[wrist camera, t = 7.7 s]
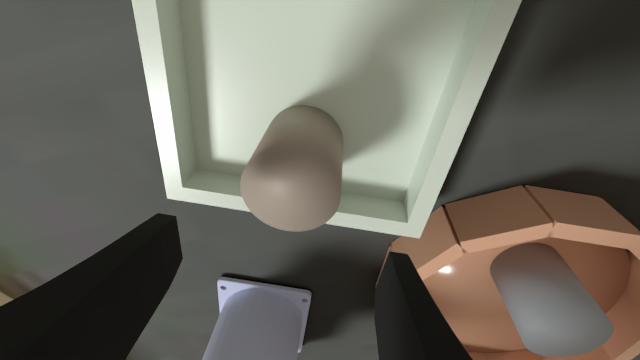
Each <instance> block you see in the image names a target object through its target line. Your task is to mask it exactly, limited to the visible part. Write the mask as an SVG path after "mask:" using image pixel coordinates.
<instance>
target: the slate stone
mask: <svg viewBox="0 0 640 360" xmlns="http://www.w3.org/2000/svg"><path fill="white" fill-rule="evenodd" d="M490 274H491V276H492V278H493V280H494V282H495V284H496V287H497V289H498V291H499V293H500V295H501V297H502V299H503V301H504V303H505V306H506V308H507V310H508V312H509V314H510V316H511V318H512V320H513V322H514V325H515V327H516V329H517V331H518V333H519V335H520V337H521V339H522V341H523V344H524V346H525V347H526V348H527V349H528V350H529V351H531V352H533V353H535V354H538V355H542V356H548V357H567V356H574V355H578V354H582V353H586V352H589V351H591V350H594V349H596V348H598V347H599V346H601V345H603V344H604V343H605V342H607V341H608V340H609V338H610V337H611V336H612V334H613V331H614V327H613V324H612V322H611V321H610V320H609V318H608V317H607V316H606V314H605V313H604V312H603V310H602V309H601V308H600V306H599V305H598V304H597V303H596V301H595V300H594V299H593V297H592V296H591V295H590V293H589V292H588V291H587V289H586V288H585V287H584V285H583V284H582V283H581V282H580V280H579V279H578V278H577V276H576V275H575V274H574V272H573V271H572V270H571V268H570V267H569V266H568V264H567V263H566V262H565V261H564V259H563V258H562V257H561V255H560V254H559V253H558V251H557V250H556V249H554V248H553V247H551V246H549V245H547V244H543V243H523V244H519V245H516V246H513V247H510V248H508V249H506V250H504V251H503V252H501V253H500V254H499V255H497V256H496V257H495V259H494V260H493V261H492V263H491V266H490Z"/></svg>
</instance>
